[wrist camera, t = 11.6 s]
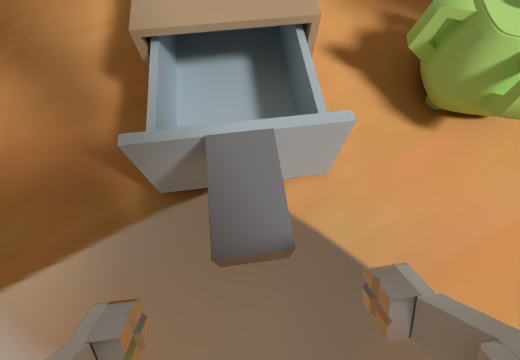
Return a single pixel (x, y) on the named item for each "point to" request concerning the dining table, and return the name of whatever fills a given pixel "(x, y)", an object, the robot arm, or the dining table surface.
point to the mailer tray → (237, 131)
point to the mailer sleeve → (216, 18)
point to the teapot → (470, 56)
